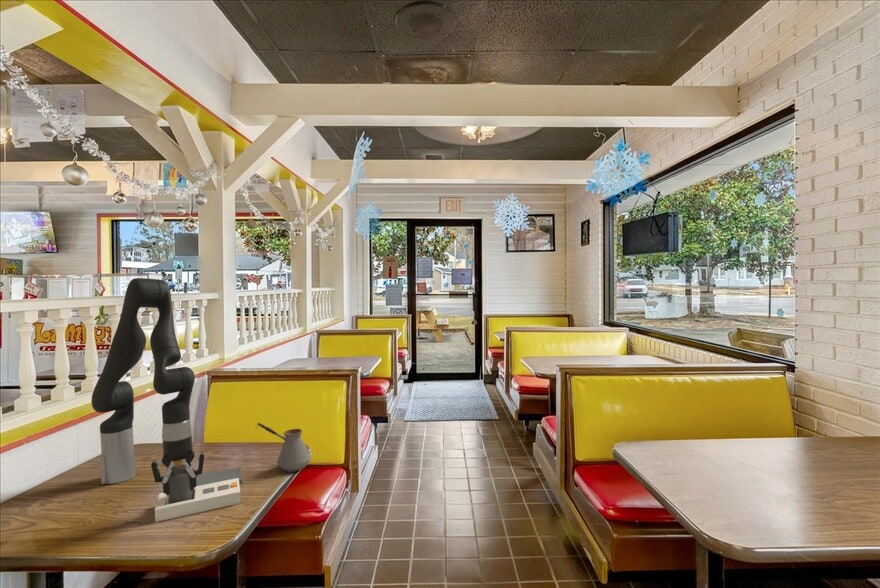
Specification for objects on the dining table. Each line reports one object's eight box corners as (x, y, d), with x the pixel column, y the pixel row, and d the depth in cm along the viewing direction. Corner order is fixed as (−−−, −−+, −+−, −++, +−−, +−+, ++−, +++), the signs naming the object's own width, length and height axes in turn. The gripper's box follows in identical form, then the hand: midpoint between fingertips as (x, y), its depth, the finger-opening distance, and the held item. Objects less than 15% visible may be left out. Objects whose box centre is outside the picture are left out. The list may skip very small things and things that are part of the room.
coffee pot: (317, 462, 168) (315, 421, 167) (298, 475, 157) (296, 432, 157) (269, 456, 175) (267, 417, 174) (247, 469, 164) (245, 427, 163)
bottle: (182, 513, 133) (179, 462, 133) (165, 512, 135) (162, 461, 134) (196, 504, 139) (194, 455, 139) (180, 502, 140) (177, 454, 140)
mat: (194, 493, 146) (194, 489, 146) (196, 478, 157) (195, 475, 157) (242, 483, 152) (241, 480, 152) (240, 470, 163) (240, 466, 163)
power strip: (155, 522, 129) (154, 507, 129) (160, 504, 139) (159, 491, 139) (240, 503, 139) (240, 489, 139) (239, 488, 149) (238, 476, 149)
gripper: (204, 427, 143) (207, 481, 143) (150, 436, 136) (153, 492, 137) (204, 435, 136) (207, 491, 136) (146, 444, 130) (150, 502, 130)
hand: (180, 491), depth 137 cm, fingers closed on bottle, 6 cm apart
